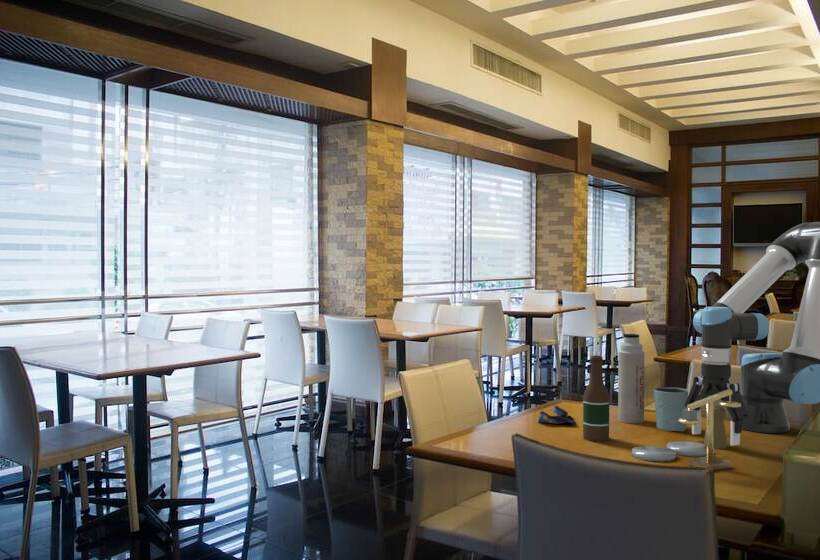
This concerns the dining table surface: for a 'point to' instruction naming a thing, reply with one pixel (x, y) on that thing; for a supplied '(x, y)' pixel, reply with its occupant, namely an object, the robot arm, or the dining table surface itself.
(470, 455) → the dining table surface
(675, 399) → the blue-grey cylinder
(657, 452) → the dish low end
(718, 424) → the pepper shaker
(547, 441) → the dining table surface
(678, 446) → the dish high end
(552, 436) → the dining table surface
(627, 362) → the thermos bottle
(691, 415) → the balance
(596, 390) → the beer bottle
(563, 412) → the snack package
